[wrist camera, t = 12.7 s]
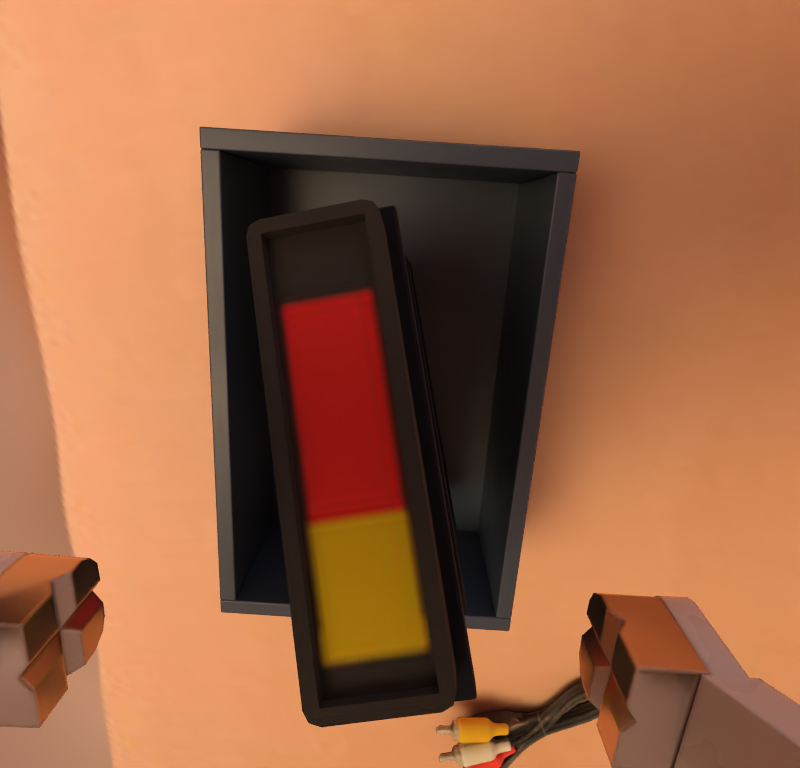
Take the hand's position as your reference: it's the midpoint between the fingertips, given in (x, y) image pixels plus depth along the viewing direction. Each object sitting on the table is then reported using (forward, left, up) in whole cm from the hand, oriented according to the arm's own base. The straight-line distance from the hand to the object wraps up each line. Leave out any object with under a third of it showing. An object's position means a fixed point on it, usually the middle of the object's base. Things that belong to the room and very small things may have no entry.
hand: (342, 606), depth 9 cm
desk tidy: (0, 0, -16) cm, 16 cm away
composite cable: (+20, +9, -17) cm, 28 cm away
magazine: (0, 0, -16) cm, 16 cm away
